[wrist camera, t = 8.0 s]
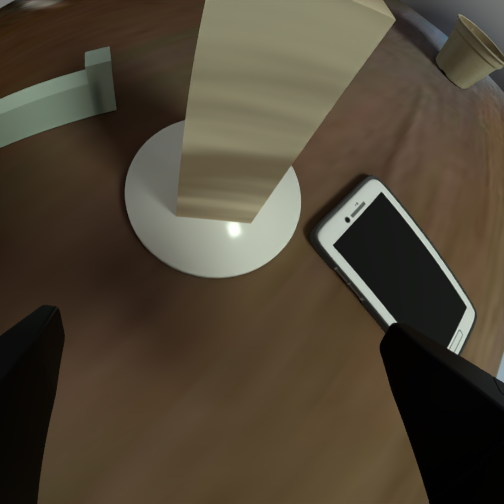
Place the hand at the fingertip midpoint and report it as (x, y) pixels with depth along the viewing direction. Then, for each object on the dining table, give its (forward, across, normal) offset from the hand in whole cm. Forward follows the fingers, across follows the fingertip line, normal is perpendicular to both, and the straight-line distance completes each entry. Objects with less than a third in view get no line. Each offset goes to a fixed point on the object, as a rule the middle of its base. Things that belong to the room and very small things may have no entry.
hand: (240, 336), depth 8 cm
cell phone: (+9, -14, +4) cm, 16 cm away
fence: (+14, +13, -2) cm, 20 cm away
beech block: (+11, 0, 0) cm, 11 cm away
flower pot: (+29, -31, -19) cm, 47 cm away
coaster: (+12, 0, 0) cm, 12 cm away
